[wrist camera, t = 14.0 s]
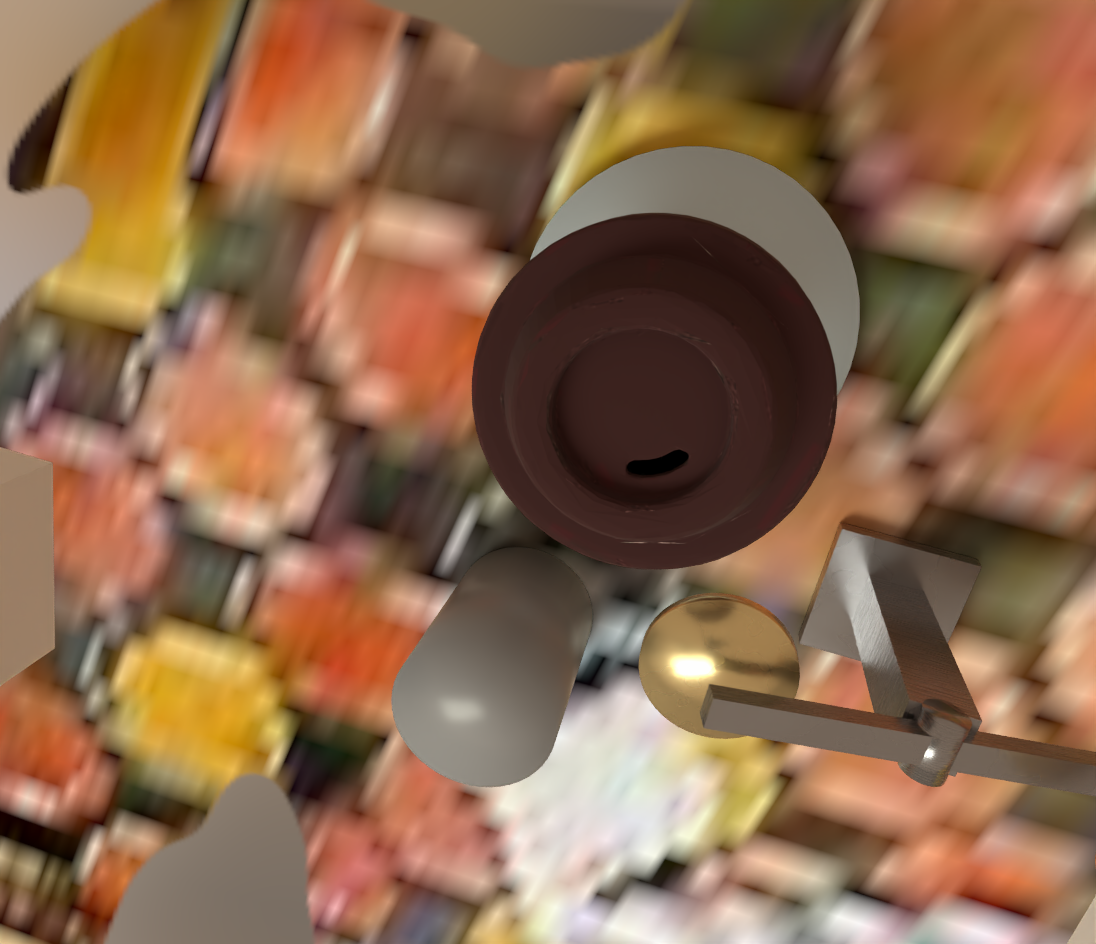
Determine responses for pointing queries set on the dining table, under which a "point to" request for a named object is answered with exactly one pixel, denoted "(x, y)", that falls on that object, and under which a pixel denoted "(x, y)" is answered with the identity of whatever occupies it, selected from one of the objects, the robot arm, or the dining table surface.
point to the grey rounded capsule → (495, 669)
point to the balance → (859, 633)
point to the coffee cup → (654, 391)
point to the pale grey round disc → (733, 222)
